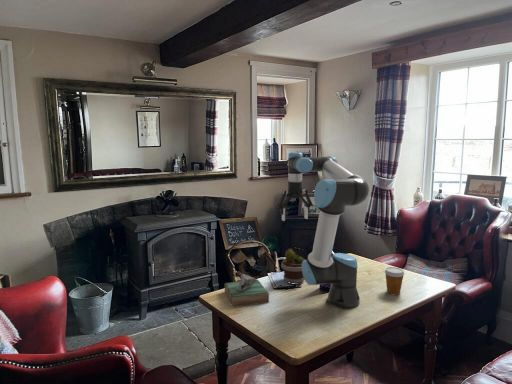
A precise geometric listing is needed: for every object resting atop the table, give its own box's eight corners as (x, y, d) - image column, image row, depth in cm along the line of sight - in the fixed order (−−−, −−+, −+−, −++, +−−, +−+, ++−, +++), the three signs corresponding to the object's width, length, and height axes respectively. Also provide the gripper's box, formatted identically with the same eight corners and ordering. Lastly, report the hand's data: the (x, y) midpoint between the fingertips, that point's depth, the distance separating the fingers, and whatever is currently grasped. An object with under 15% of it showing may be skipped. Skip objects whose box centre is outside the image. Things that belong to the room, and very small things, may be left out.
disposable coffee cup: (393, 297, 188) (394, 274, 187) (379, 290, 197) (380, 268, 195) (407, 294, 192) (408, 271, 190) (393, 287, 201) (394, 265, 199)
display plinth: (268, 302, 184) (268, 292, 183) (232, 307, 179) (232, 297, 178) (258, 287, 201) (257, 278, 200) (224, 292, 196) (224, 282, 195)
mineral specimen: (241, 296, 191) (253, 297, 183) (230, 288, 187) (241, 288, 180) (249, 279, 195) (261, 279, 187) (238, 270, 192) (249, 270, 184)
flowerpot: (296, 274, 220) (296, 241, 217) (313, 282, 207) (314, 247, 204) (275, 279, 213) (275, 244, 210) (292, 288, 200) (292, 252, 197)
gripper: (312, 179, 212) (312, 216, 215) (271, 181, 204) (271, 219, 208) (319, 180, 205) (318, 219, 208) (276, 182, 197) (276, 222, 201)
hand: (294, 219), depth 208 cm, fingers open, 13 cm apart
